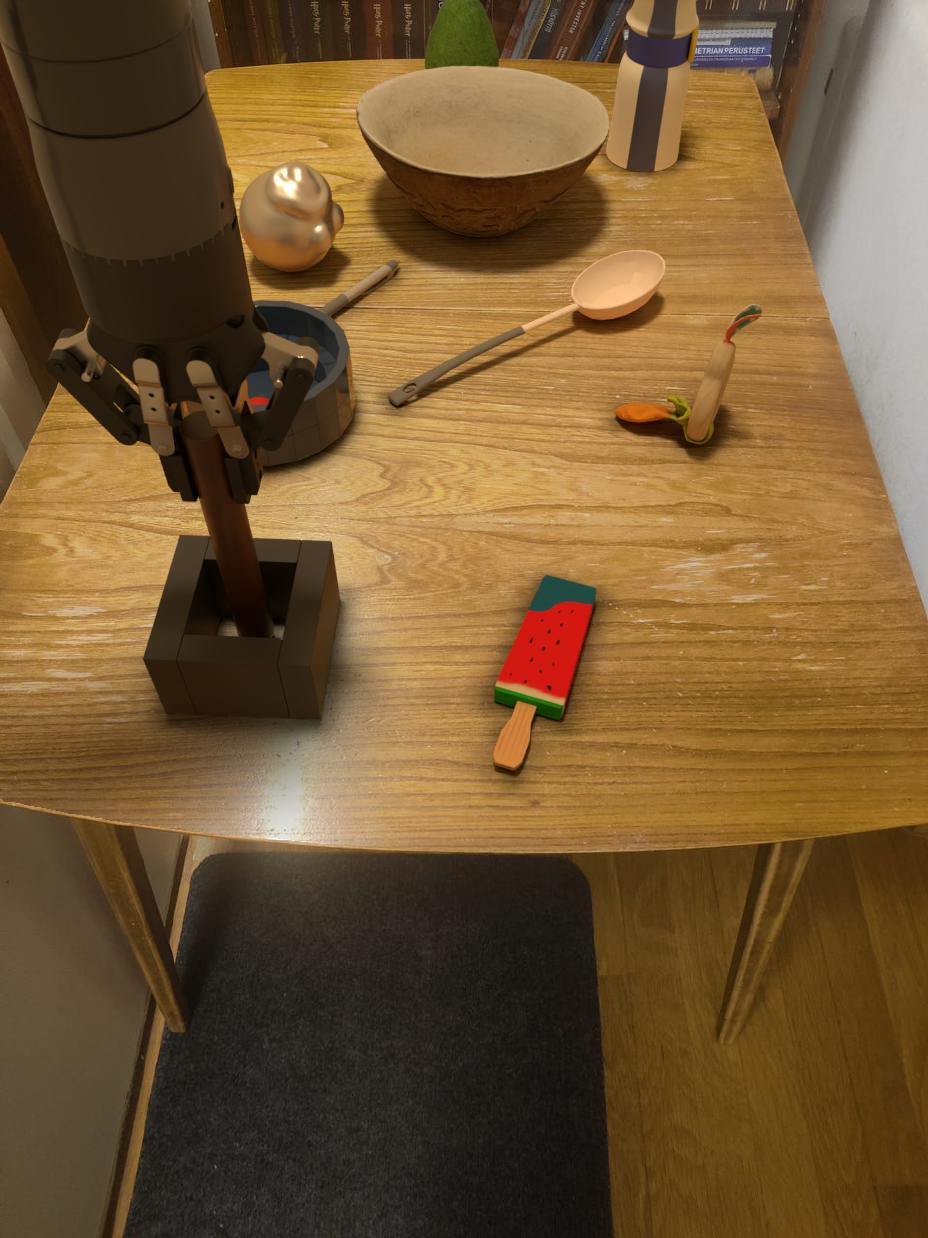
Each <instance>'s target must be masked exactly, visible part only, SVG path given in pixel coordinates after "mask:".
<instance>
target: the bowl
mask: <svg viewBox="0 0 928 1238" xmlns="http://www.w3.org/2000/svg"><path fill="white" fill-rule="evenodd" d="M355 112H356V113H355V115H356V122H357V125H358V128H359V130H360V133H361V136H362V138H363V140H364V142H365V144H366V145H367V147H368V149H369V150H370V152H371V153H372V155H373V156H374V158H375V160H376V162H377V163H378V165H380V167H381V168H382V170H383V171H384V172H385V174H386V176H387V179H389V181H390V182H391V183H392V185H393V186H394V187H395V188H396V189H397V191H398V192H399V194H400V195H402V197H403V198H405V200H406V201H407V202H408V203H409V204H410V205H411V206H412V208H414V209H415V210H416V211H417V212H418V213H419V214H420V215H421V216H423V217H424V218H425V219H427V220H428V221H430V222H431V223H432V224H433V225H435V226H437V227H438V228H440V229H443V230H445V231H448V232H450V233H454V234H456V235H457V234H458V235H462V236H466V237H476V238H477V237H483V238H485V237H496V236H504V235H507V234H509V233H513V232H516V231H518V230H520V229H521V228H524V227H525V226H527V225H528V224H530V223H531V222H533V221H534V220H536V219H537V218H538V217H540V215H542V214H544V213H545V212H546V211H548V210H549V209H550V208H551V207H552V206H553V205H555V203H556V202H558V201H559V200H560V199H561V198H563V196H564V195H565V194H566V193H567V192H568V191H569V190H571V189H572V187H573V186H574V185H575V184H576V183H577V182H578V181H579V180H580V178H581V177H582V176H583V175H584V173H585V172H586V171H587V169H588V168H589V167H590V166H591V164H592V163H593V161H594V160H595V159H596V157H597V156H598V155H599V153H600V152H601V150H602V148H603V146H604V145H605V143H606V141H607V139H608V137H609V131H610V116H609V112H608V110H607V108H606V106H605V105H604V103H603V102H602V100H601V99H600V98H599V97H597V96H596V95H595V94H594V93H592V92H590V91H588V90H587V89H584V88H582V87H580V86H578V85H576V84H575V83H572V82H569V81H565V80H562V79H560V78H557V77H554V76H551V75H547V74H543V73H537V72H534V71H529V70H524V69H518V68H514V67H505V66H499V67H489V66H449V67H439V68H433V69H426V70H425V69H420V70H416V71H411V72H407V73H404V74H401V75H399V76H396V77H394V78H390V79H388V80H385V81H382V82H381V83H379V84H377V85H375V86H373V87H372V88H370V89H368V90H366V92H364V93H363V94H362V95H361V96H360V97H359V99H358V101H357V107H356V110H355Z"/></svg>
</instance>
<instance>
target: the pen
mask: <svg viewBox="0 0 928 1238" xmlns="http://www.w3.org/2000/svg"><path fill="white" fill-rule="evenodd" d="M400 262H401V261H400V259H391V260H390V261H387V262H386V263H385V264H383V265H382V266H380V267H379V268H377V269H376V270H375V271H373V272H372V273H370V274H369V275H367V276H366V277H364V278H363V279H362V280H360V281H359V282H357V283H356V284H354V285H353V286H352V287H350V288H348V289H347V290H346V291H344V292H342V293H340V294H339V295H337V297H335V298H334V299H332V300H331V301H330V302H328V303H327V304H325V305H324V306H322V307H321V308H319V309H318V310H319V311H321V312H322V313H324V314H326V315H328V316H330V317H331V316H333V315H334V314H335V313H337V312H338V311H339V310H341V309H343V308H344V307H346V306H347V305H348V304H349V303H351V302H352V301H353V300H354V299H356V298H358V296H360V295H362V296H364V295H367V294H370V293H371V292H372V291H375V290H376V289H377V288H379V287H380V286H383V285H384V284H385V283H386V282H388V281H389V280H391V279H392V278H393V277H394V275H395V272H396V271H395V270H397V268H398V267H399V264H400ZM378 282H379V284H377V283H378ZM376 284H377V285H376ZM374 285H376V286H374ZM373 286H374V287H373ZM371 287H372V288H371Z"/></svg>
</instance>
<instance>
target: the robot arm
mask: <svg viewBox="0 0 928 1238" xmlns="http://www.w3.org/2000/svg"><path fill="white" fill-rule="evenodd" d="M191 5H192V4H191V0H0V44H1V48H2V51H3V54H4V56H5V60H6V63H7V65H8V68H9V72H10V74H11V77H12V81H13V83H14V86H15V90H16V92H17V95H18V98H19V100H20V104H21V106H22V110H23V112H24V113H23V114H24V116H25V120H26V123H27V128H28V132H29V137H30V142H31V148H32V153H33V158H34V162H35V167H36V171H37V174H38V178H39V181H40V184H41V187H42V190H43V193H44V195H45V198H46V200H47V201H46V202H47V203H48V207H49V210H50V213H51V215H52V219H53V221H54V224H55V226H56V229H57V232H58V237H59V238H60V241H61V245H62V248H63V250H64V253H65V256H66V259H67V262H68V266H69V268H70V272H71V273H72V277H73V279H74V282H75V285H76V288H77V291H78V295H79V296H80V300H81V303H82V305H83V309H84V311H85V313H86V314H87V317H88V319H89V320H88V323H87V326H86V329H84V330H82V331H79V330H77V329H75V328H72V327H71V328H70V327H67V328H63V329H62V330H61V331H60V334H59V335H58V338H57V339H56V342H55V344H54V346H53V348H52V350H51V352H50V354H49V356H48V359H47V360H46V363H45V368H46V370H47V372H48V373H49V374H50V375H51V376H52V377H53V379H55V381H57V382H58V384H60V385H61V386H62V387H63V388H64V390H66V391H67V392H68V393H69V394H70V395H71V396H72V398H74V399H75V400H76V401H77V402H78V403H79V405H81V406H82V408H84V409H85V410H86V411H87V412H88V413H89V414H90V415H91V417H93V419H95V420H96V421H97V422H98V424H100V425H101V426H102V428H104V430H106V431H107V432H108V433H109V434H110V435H111V437H113V438H114V439H115V441H117V442H118V443H119V444H122V445H124V446H134V445H136V444H137V443H138V442H139V443H143V444H146V445H148V446H150V447H151V449H152V451H154V453H156V454H157V456H158V458H159V461H160V465H161V467H162V471H163V473H164V477H165V480H166V483H167V486H168V487H169V489H170V490H171V491H172V492H173V493H179V495H180V499H181V501H182V502H184V503H196V502H197V501H198V500H199V497H198V494H197V490H196V487H195V483H194V480H193V476H192V473H191V469H190V466H189V462H188V459H187V456H186V452H185V449H184V445H183V442H182V438H181V435H180V431H179V426H180V423H181V421H182V420H183V418H184V409H183V402H184V401H192V402H196V403H200V404H203V406H204V409H205V411H206V414H207V416H208V419H209V421H210V424H211V426H212V427H213V428H217V429H218V432H219V434H220V437H221V439H222V442H223V444H224V447H225V449H226V453H225V457H224V460H225V464H226V468H227V472H228V476H229V480H230V484H231V488H232V492H233V496H234V500H235V503H236V504H245V505H250V504H251V500H252V496H258V494H259V491H260V487H261V483H262V480H263V475H264V466H262V462H261V457H260V452H259V448H263V449H265V450H267V451H276V450H278V449H279V448H280V446H281V445H282V443H283V441H284V439H285V437H286V435H287V433H288V431H289V429H290V427H291V425H292V423H293V421H294V419H295V417H296V415H297V413H298V411H299V409H300V407H301V405H302V403H303V401H304V399H305V397H306V395H307V393H308V391H309V389H310V387H311V385H312V383H313V379H314V375H315V371H316V366H317V361H318V356H319V351H320V345H319V343H318V342H317V341H316V340H315V339H313V338H311V337H301V338H300V339H298V340H297V342H296V343H293V342H291V341H289V340H286V339H284V338H282V337H279V336H277V335H275V334H272V333H270V332H269V328H268V325H267V322H266V320H265V319H264V317H263V316H262V315H261V314H260V312H259V311H258V310H257V308H256V306H255V305H254V302H253V301H254V299H253V295H252V287H251V282H250V277H249V272H248V267H247V261H246V256H245V249H244V245H243V239H242V233H241V230H240V224H239V216H238V212H237V208H236V202H235V197H234V195H235V183H234V177H233V173H232V169H231V167H230V165H229V164H228V158H227V153H226V149H225V145H224V140H223V136H222V133H221V130H220V126H219V123H218V120H217V117H216V115H215V112H214V108H213V106H212V103H211V100H210V95H209V91H208V87H207V84H206V82H207V81H206V76H205V70H204V66H203V61H202V54H201V51H200V45H199V40H198V39H199V38H198V35H197V29H196V24H195V19H194V13H193V9H192V6H191ZM260 358H263V359H264V360H265V361H266V362H267V363H268V365H269V377H270V379H271V380H272V381H273V382H274V383H273V384H274V387H275V389H274V391H273V393H272V395H271V398H270V400H269V402H268V404H267V406H266V409H265V410H263V411H259V412H256V413H254V411H253V408H252V405H251V402H250V399H249V397H248V385H247V380H246V378H247V376H248V375H249V373H250V372H251V370H252V369H253V368H254V366H255V365H256V363H257V362H258V361H259V359H260ZM122 375H123V376H122ZM124 377H125V378H126V379H127V380H129V381H130V382H131V383H132V384H133V385H135V386H136V387H137V389H138V392H137V391H136V390H135V389H134V388H133V387H132V386H131V385H130V384H129V382H127V380H125V378H124Z"/></svg>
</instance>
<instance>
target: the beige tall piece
mask: <svg viewBox="0 0 928 1238" xmlns="http://www.w3.org/2000/svg"><path fill="white" fill-rule="evenodd" d="M762 313H763V308H762V305H761V304H758V303H750V304H749V305H747V306H746V307H744V308H743V309H741V310H740V311H739V312H737V314H736V315H735V316H734V317H733V318H732V320H731V321H730V323H729V325H728V327H727V328H726V329H725V334H724V339H719V340H718V341H717V342H716V343H715V344H714V346H713V348H712V351H711V353H710V356H709V359H708V361H707V365H706V368H705V371H704V373H703V376H702V380H701V382H700V385H699V387H698V390H697V393H696V396H695V399H694V402H693V404H692V408H691V407H690V406H689V404H688V401H687V399H686V397H685V396H681V397H679V396H677V395H675V394H672V395H670V396H668V397H667V398H666V402H668V403H672V404H673V405H674V408H675V409H671V408H669V407H666V406H664V405H658V404H655V403H648V402H629V403H625V404H622V405H620V406H618V407H617V408H616V409H615V410H614V414H615V415H616V417H618V418H619V419H621V420H624V421H627V422H632V423H647V422H654V421H660V420H663V419H671V420H674V421H675V422H677V424H679V425H682V426H681V427H682V430H683V433H684V438H685V440H686V441H687V442H689V443H692V444H695V445H703V444H705V443H707V442H708V441H709V439H711V438H712V435H713V433H714V431H715V425H714V421H715V419H716V417H717V414H718V411H719V408H720V406H721V403H722V400H723V398H724V396H725V395H724V394H725V391H726V389H727V386H728V382H729V380H730V377H731V373H732V370H733V367H734V364H735V359H736V350H737V346H736V344H735V342H734V341H731V339H732V338H733V337H734V336H735V335H736V334H737V333H738V332H739V331H740V330H742V329H744V328H745V327H746V326H748V325H750V324H751V323H754V322H756V321H758V320H759V318H760V317H762V315H763V314H762Z"/></svg>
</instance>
